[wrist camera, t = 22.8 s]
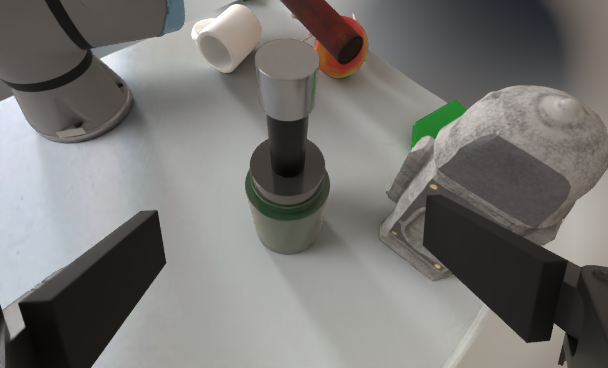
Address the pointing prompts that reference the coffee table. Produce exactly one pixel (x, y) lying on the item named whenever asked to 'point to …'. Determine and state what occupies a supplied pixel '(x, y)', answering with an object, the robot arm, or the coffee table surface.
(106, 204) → the coffee table surface
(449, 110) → the bracket
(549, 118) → the figurine
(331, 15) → the firecracker
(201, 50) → the mug
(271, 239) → the bottle
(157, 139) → the coffee table surface
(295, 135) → the flashlight
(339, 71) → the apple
